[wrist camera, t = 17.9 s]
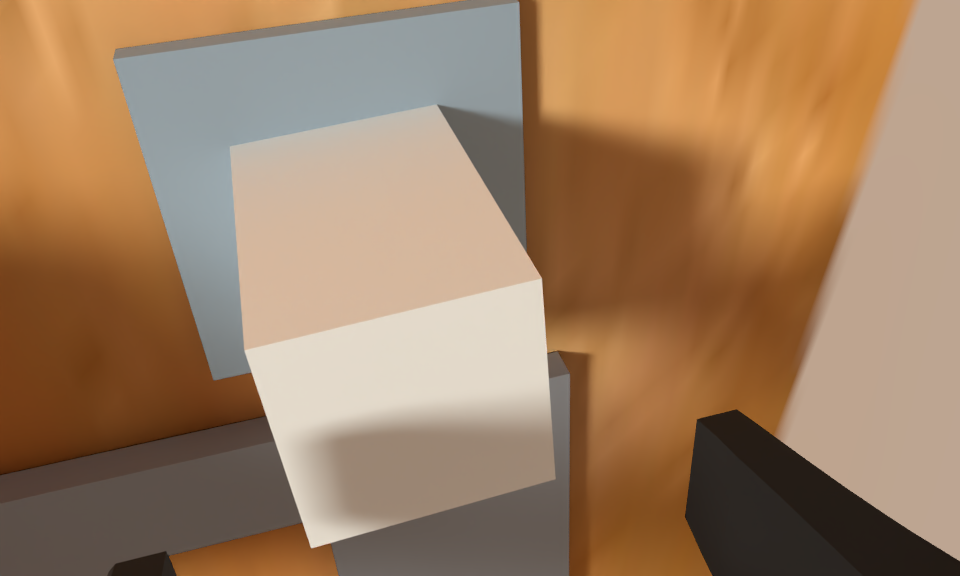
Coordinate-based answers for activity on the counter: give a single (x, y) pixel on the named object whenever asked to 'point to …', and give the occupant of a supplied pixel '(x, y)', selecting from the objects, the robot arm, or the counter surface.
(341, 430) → the plug
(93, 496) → the socket block
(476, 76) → the rest pad
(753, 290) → the counter surface
